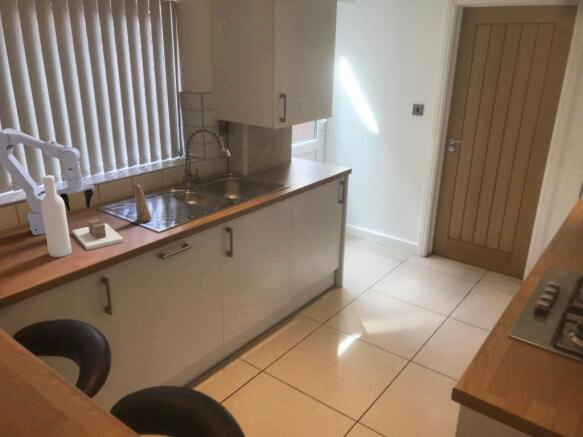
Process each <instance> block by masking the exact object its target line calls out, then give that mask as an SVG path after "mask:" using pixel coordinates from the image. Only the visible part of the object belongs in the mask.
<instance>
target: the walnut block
mask: <svg viewBox="0 0 583 437" xmlns="http://www.w3.org/2000/svg"><path fill="white" fill-rule="evenodd" d="M104 224H105V223H103V222H102V221H101V220H100V219H98V218H96V219H90V220H87V227H89V232H90V233H91V234H92V235H93V236H94V237H95V239H98V238H103V237H106V231H105V225H104Z"/></svg>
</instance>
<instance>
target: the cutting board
mask: <svg viewBox="0 0 583 437" xmlns="http://www.w3.org/2000/svg"><path fill="white" fill-rule="evenodd" d="M103 224H104V225H105V231H106V237H103V238H98V239H95V237H94V236H93V235H92V234H91V233H90V232H89V226H86V227H82V228H81V227H80V228H76V229H72V231H71V232H72V234H73V235H74V236H75V238H76V239H77V240H78V241H79V242H80V243H81V244H82V246H83V247H84V248H85V249H86V250H87V251H89V250H94V249H99V248H102V247H103V248H104V247H106V246H112V245H116V244H120V243H124V242H125V241H124V240H125V239H124V237H122V236H121V235H120V234H119V233H118V232H117V231H116V230H115V229H113V228H112V227H111V226H110V225H109V224H108V223H103Z"/></svg>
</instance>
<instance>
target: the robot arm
mask: <svg viewBox="0 0 583 437" xmlns="http://www.w3.org/2000/svg"><path fill="white" fill-rule="evenodd" d="M19 144H20V145H21V144H22V145H24V146H25V145H26V146H29V147H31V148H36V149H38V150H41V151H42V152H43V153H44V155H47V156H49V157H52V158H55V159H58V160H61V161H62V163H63V164H64V170H65V171H64V172H65V176H66V185H67V187H64V188H62V189H56V193H57V195H58V196H60V197H61V198H62V199H63V201H64V204H65V209H66V212H71V206H70V200H69V196H68V195H69V194H77V193H81V192H82V193H84V198H85V206H86V208H87V209H90V208H91V207H90V205H91V200H92V198H93V195H94V192H93V191H96V189H95V185H94V184H88V185H87V184H86V185H83V178H82V170H81V165H80V159H81V156H82V155H81V154H82V153H81V151H80V150H79V149H78V148H76V147H74V146H70V147H69V146H68V145H64V144H63V145H62V144H61V143H57V140H48V141H43V140H41V139H39V138H36V137H34V136H31V135H30V134H27V133H26V132H25V133H24V132H22V131H21V130H18V129H15V128H13V127H6V128H4V129H1V130H0V164H1V165H2V166H3V167H4V169H5V170H6V171H7V172H8V174H10V176H11V177H12V179H13V180H14V182H16V183H17V185H18V186H19V187H20V188H21V189H22V191H23V192H24V193H25V200H26V202H27V203H28V205H29V208H30V210H31V212H28V213H27V217H28V218H27V219H28V224H29V231H30V232H31V233H32V235H33V236H37V235H42V234H46V233H45V227H44V221H43V215H42V209H41V202H42V199H43V198H44V197H45V196H46V194H45V188H43V187H41V186H39V185H38V184H37V183H36V181H35V180H34V179H33V178H32V177H31V175H30V174H29V173H28V171H27V170H26V169H25V168H24V167H23V166H22V164H21V163H20V162H19V160H18V159H17V158H16V157H15V156H14V154H13V151H14V148H15V146H16V145H19Z"/></svg>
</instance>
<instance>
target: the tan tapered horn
mask: <svg viewBox="0 0 583 437" xmlns="http://www.w3.org/2000/svg"><path fill="white" fill-rule="evenodd" d="M133 192H134V201H135V212H136V220H137V222H138V223H148V222H151V221H152V214H151V213H150V210H149V207H148V204H147V200H146V198H145V193H144V190H143V188H142V186H141V184H140V183H135V184H134V189H133Z"/></svg>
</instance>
